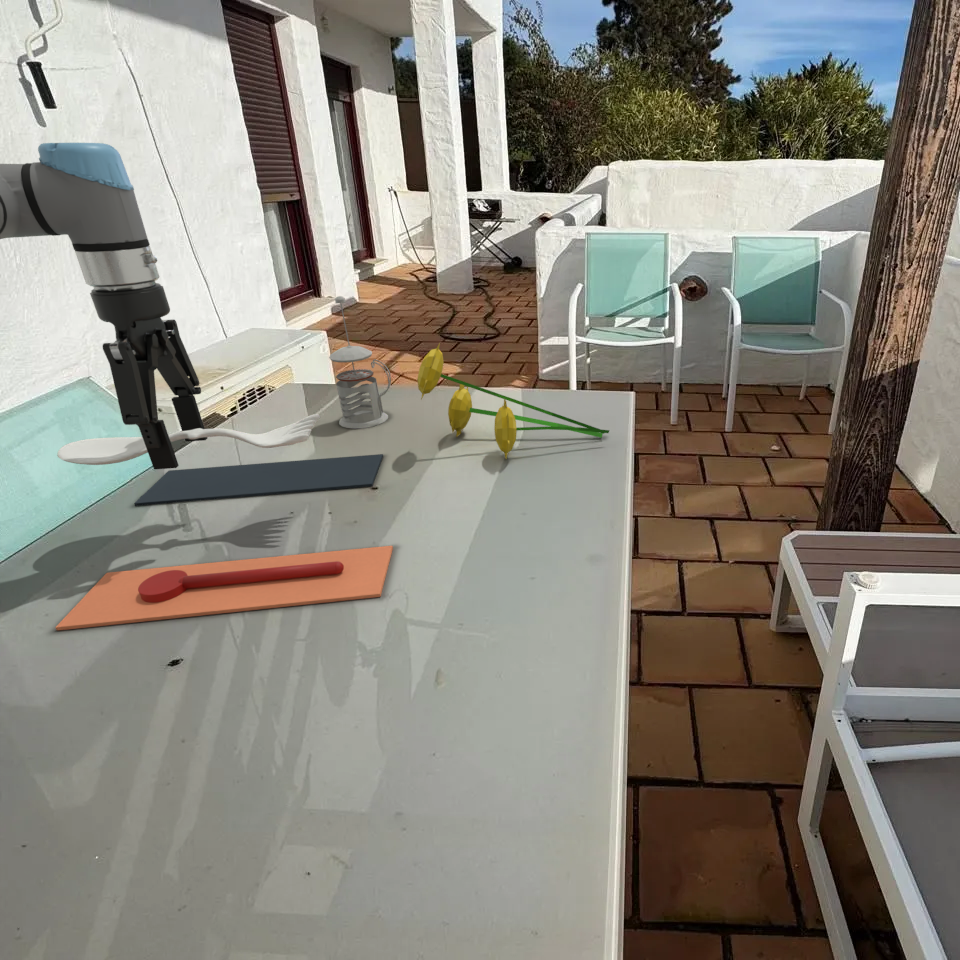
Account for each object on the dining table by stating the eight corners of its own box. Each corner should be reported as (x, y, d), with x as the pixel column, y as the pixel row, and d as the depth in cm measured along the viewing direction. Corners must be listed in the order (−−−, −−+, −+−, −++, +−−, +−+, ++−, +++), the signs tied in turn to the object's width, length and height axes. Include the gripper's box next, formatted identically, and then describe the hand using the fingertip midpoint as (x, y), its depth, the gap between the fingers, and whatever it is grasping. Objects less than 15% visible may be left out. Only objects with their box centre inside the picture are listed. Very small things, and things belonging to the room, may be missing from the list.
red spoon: (132, 605, 76) (128, 594, 75) (153, 579, 80) (149, 569, 80) (340, 584, 79) (337, 573, 78) (348, 560, 83) (346, 550, 83)
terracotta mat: (56, 630, 73) (54, 627, 72) (108, 575, 82) (106, 572, 82) (380, 597, 77) (379, 593, 77) (393, 548, 87) (392, 545, 87)
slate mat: (135, 506, 99) (133, 503, 99) (169, 473, 110) (168, 470, 110) (372, 486, 104) (371, 483, 104) (383, 456, 114) (383, 454, 114)
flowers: (594, 410, 132) (429, 351, 123) (626, 400, 111) (429, 328, 102) (571, 484, 132) (403, 430, 122) (599, 488, 110) (397, 423, 101)
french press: (345, 412, 135) (319, 292, 124) (400, 409, 136) (380, 290, 125) (333, 429, 126) (304, 302, 115) (392, 426, 127) (370, 299, 116)
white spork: (312, 456, 87) (306, 433, 85) (49, 478, 81) (38, 453, 80) (324, 432, 95) (320, 410, 93) (85, 450, 89) (76, 428, 88)
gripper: (111, 300, 69) (176, 485, 79) (195, 270, 88) (238, 423, 98) (35, 303, 68) (111, 490, 78) (136, 272, 87) (186, 426, 97)
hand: (182, 453), depth 88 cm, fingers closed on white spork, 9 cm apart
